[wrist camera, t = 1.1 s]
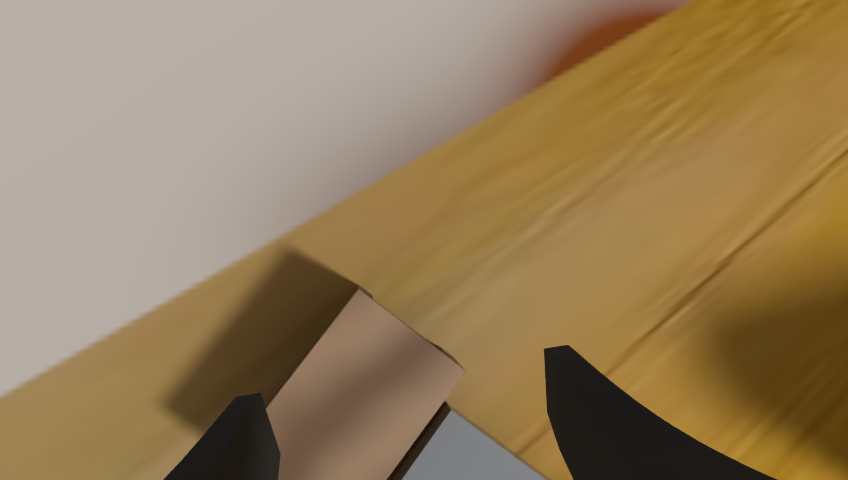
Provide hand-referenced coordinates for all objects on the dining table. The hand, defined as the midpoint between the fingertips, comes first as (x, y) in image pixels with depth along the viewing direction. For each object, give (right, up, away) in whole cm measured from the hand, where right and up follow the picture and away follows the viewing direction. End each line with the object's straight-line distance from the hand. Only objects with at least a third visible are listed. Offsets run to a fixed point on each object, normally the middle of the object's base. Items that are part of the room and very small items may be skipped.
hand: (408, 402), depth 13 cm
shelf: (-4, -6, +19) cm, 21 cm away
